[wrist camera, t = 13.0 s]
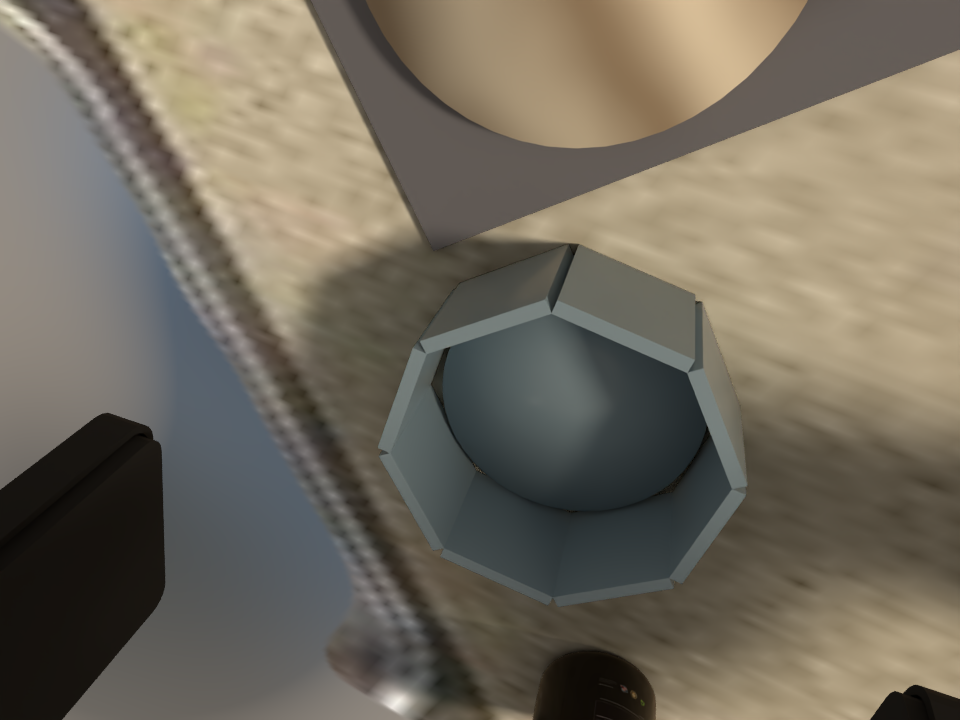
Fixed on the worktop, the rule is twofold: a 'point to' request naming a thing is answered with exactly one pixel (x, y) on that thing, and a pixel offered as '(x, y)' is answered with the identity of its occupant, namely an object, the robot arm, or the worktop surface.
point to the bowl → (569, 430)
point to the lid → (582, 60)
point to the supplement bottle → (594, 689)
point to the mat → (574, 171)
